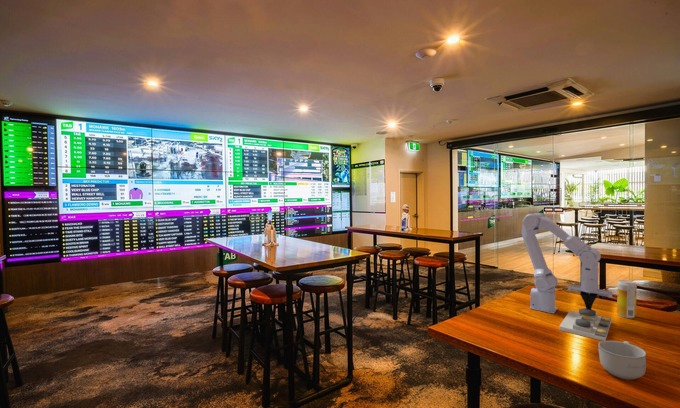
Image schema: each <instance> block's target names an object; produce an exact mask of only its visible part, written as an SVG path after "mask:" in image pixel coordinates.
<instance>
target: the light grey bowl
mask: <svg viewBox="0 0 680 408" xmlns="http://www.w3.org/2000/svg"><path fill="white" fill-rule="evenodd" d="M597 346H598V355H599V362H600V365H601V366H602V367H603V369H604V370H606V371H607V372H608V373H609V374H611V375H613V376H614V377H617V378H620V379H623V380H629V381H630V380H631V381H632V380H636V379H639V378H642V377H643V376H644V375H645V373H646V369H647V360H646V358H647V353H646V351H645V350H644V349H643V348H641V347H639V346H637V345H635V344H634V345H633V344H632V343H631V342H630V341H626V340H624V341H617V340H606V341H599V342H598V344H597Z"/></svg>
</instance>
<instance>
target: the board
mask: <svg viewBox="0 0 680 408" xmlns="http://www.w3.org/2000/svg"><path fill="white" fill-rule="evenodd" d="M576 319H583V320H587V321H589V322H590V323H591V326H590V327H582V326H579V325H577V324H576ZM611 325H612V317H609V316H608V317H607V316H604V315H601V316H599V313H597V312H596V315H593V316H590V319H586V318H583V317H582V314H580V313H579V311H575V310H574V311H573V310H569V311H568V312H567V314H566V315H565V317H564V319H563V320H562V321H561V323H560V325H559V326H558V330H559V331H562V332H565V333H568V334H569V333H570V334H574V335H576V336H577V335H579V336H582V337H586V338H591V339H594V340H597V341H600V342H602V341H607V337H608V335H609V331H610V327H611Z"/></svg>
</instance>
